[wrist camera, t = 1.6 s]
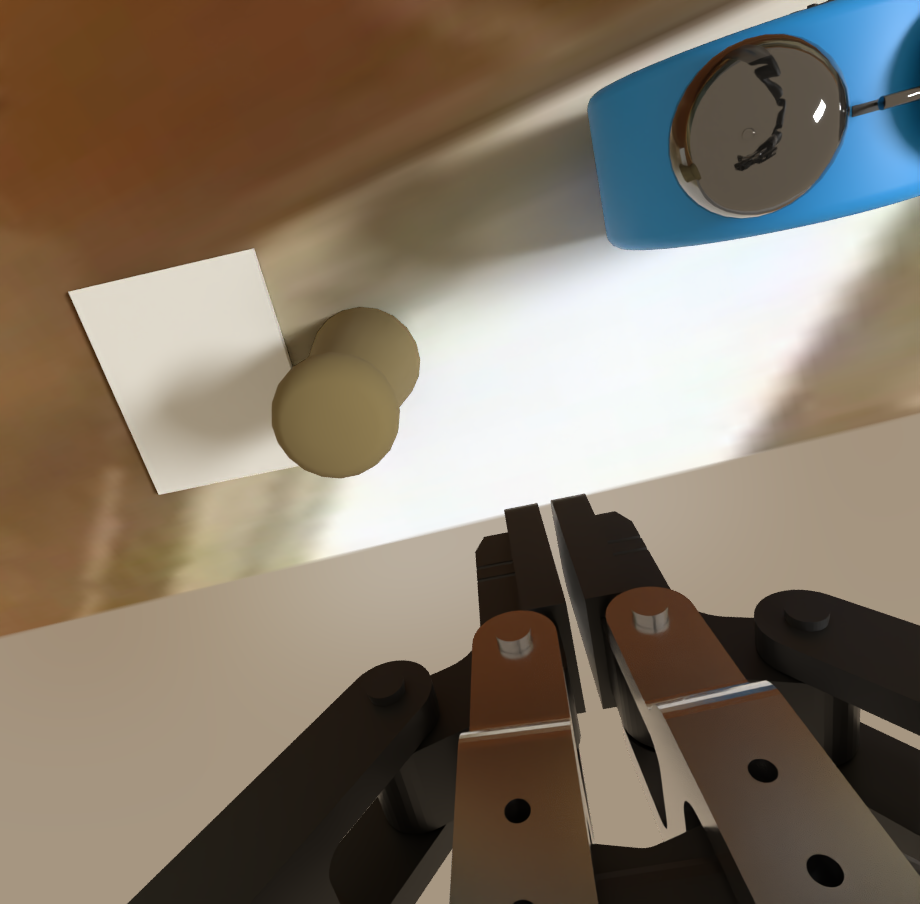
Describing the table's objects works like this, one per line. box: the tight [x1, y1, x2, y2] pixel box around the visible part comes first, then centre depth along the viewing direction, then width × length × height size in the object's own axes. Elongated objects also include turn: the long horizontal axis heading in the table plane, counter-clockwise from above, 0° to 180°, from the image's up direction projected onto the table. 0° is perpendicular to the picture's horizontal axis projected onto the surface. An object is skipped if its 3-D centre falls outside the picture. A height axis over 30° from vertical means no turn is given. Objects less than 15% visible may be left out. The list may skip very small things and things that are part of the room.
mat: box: [68, 249, 299, 495], centre depth 34 cm, size 12×10×1 cm
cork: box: [272, 307, 420, 478], centre depth 29 cm, size 6×6×11 cm
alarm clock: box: [587, 0, 920, 250], centre depth 23 cm, size 13×6×15 cm, turn 104°
